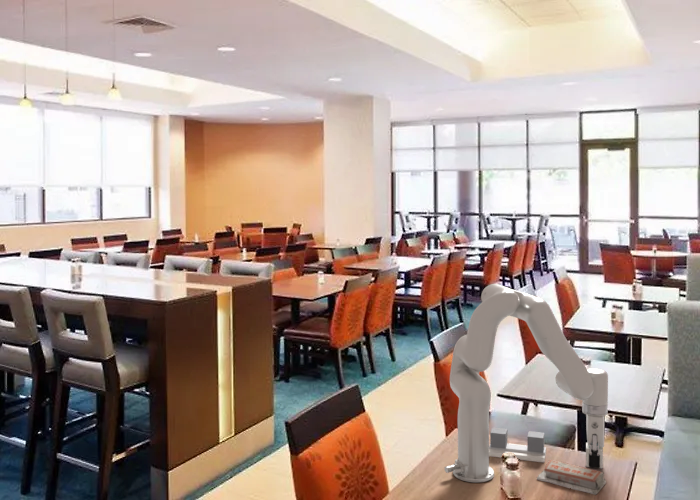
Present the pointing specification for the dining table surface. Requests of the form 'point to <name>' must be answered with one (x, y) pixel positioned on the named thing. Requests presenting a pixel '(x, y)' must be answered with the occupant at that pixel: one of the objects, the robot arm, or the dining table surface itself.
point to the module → (589, 453)
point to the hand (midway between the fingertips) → (594, 462)
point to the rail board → (518, 446)
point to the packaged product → (573, 477)
